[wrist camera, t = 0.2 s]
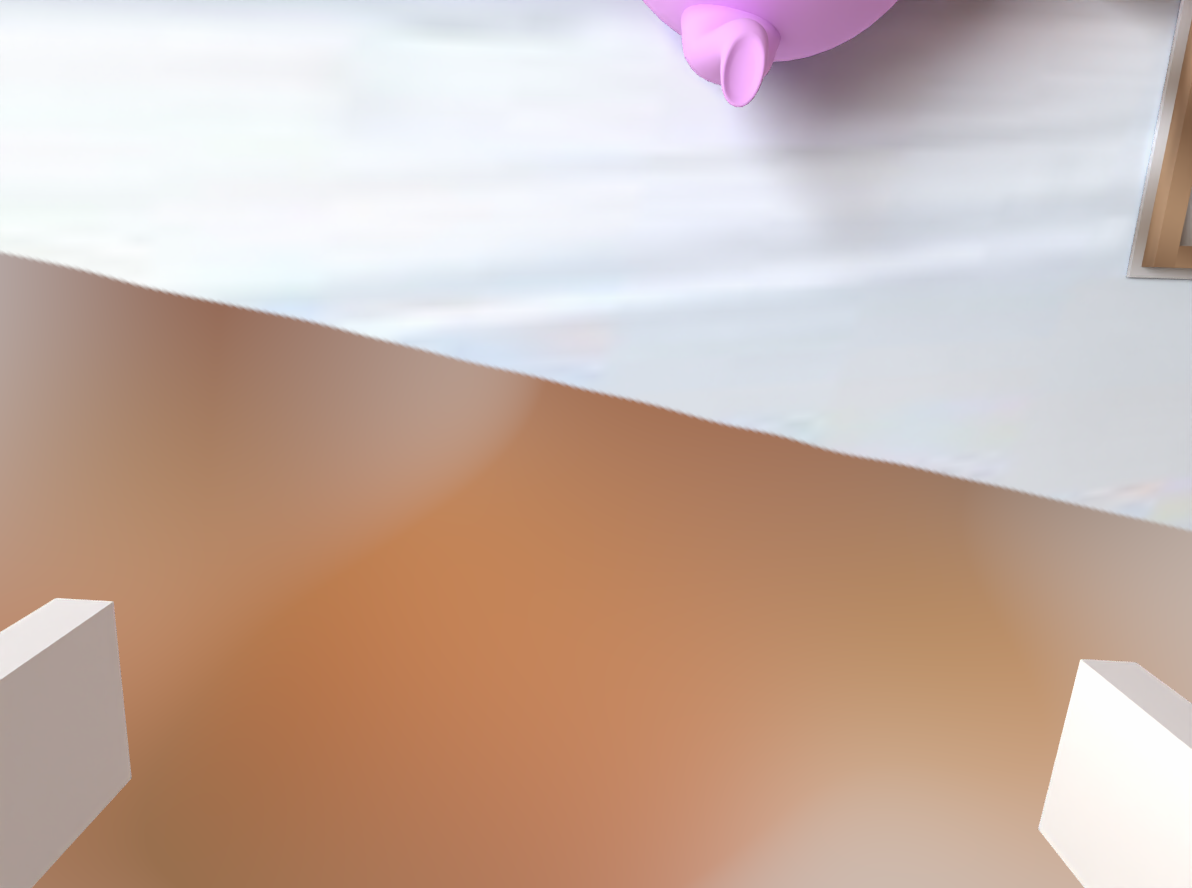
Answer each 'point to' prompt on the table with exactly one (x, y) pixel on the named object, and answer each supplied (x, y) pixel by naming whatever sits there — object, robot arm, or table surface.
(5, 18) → the table surface
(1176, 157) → the wooden picture frame
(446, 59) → the table surface
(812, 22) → the teapot
